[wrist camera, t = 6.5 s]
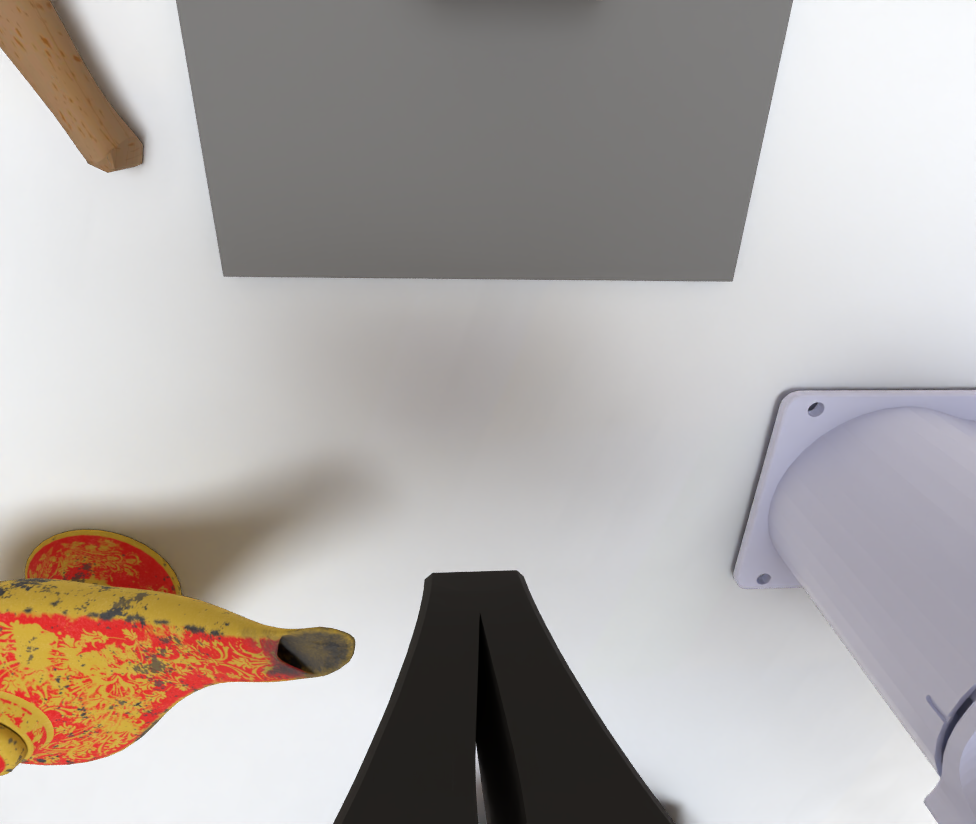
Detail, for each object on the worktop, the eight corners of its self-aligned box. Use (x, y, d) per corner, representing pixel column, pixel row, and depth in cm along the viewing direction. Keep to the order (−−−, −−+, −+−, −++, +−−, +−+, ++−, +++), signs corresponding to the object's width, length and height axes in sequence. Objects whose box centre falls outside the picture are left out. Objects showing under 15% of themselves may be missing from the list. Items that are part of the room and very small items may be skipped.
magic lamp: (424, 552, 22) (409, 927, 12) (4, 709, 24) (-295, 1132, 14) (327, 393, 19) (201, 724, 9) (-145, 590, 21) (-656, 1026, 11)
